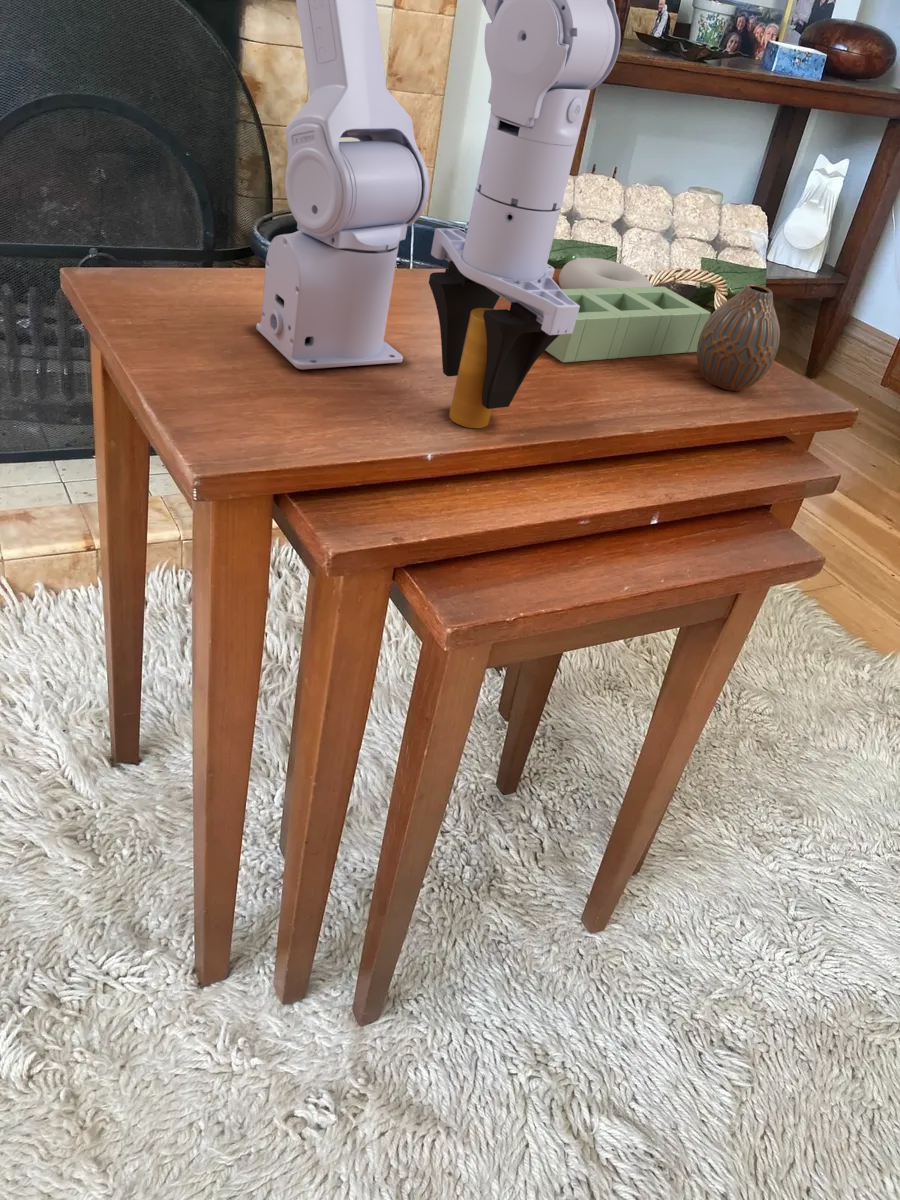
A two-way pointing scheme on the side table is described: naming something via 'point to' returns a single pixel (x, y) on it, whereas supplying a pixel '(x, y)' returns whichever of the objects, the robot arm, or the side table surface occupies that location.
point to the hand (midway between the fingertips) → (475, 389)
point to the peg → (472, 376)
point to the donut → (599, 275)
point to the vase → (739, 340)
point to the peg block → (629, 324)
